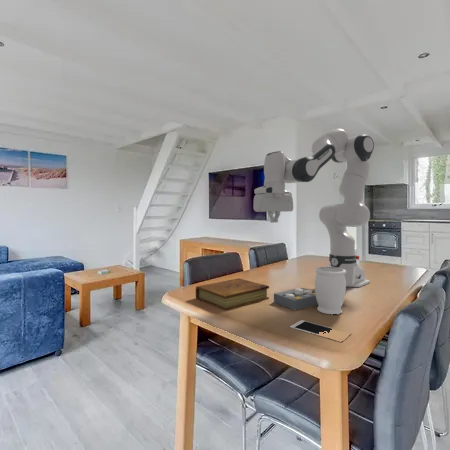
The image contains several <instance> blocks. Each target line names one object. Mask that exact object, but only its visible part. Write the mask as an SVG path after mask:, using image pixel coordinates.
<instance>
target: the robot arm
mask: <svg viewBox="0 0 450 450" xmlns="http://www.w3.org/2000/svg"><path fill="white" fill-rule="evenodd" d="M347 133H348V132H347V131H345V130H344V129H342V128H334V129H332V130H331V129H330V131H329V130H328V131H327V132H325V133H323V134H322V135H321V136H319V137H317V138H316V139H315V140H314V142H313V143H312V145H311V152H312V155H311V156H304V157H300V158H297V159H290V158H289V157H288V156H286V155H285V152H283V150H282V151H281V150H279V151H278V150H277V151H273V152H272V151H271V152H269V153H267V154H266V155H265V157H264V161H263V163H264V164H263V174H264V181H263V185H262V186H260V187H259V186H258V187H257V188H255V189H253V191H254V194H255V195H254V197H253V202H252V203H253V210H254V212H257V213H260V212H261V213H265V212H267V214H268V217H269V219H270V220H269V221H270V223H279V218H280V216H281V212H285V213H286V212H293V210H294V201H293V200H294V199H293V194H292V192H291V191H290V190H286V184H295V183H309V182H312V181H313V180H314V179H315V178H316V176H317V175H318V172H319V171H320V170H321V168H323V166H326V164H327V163H328V162H329V161H331V160H332V161H333V162H334V163H338V164H339V163H342V164H343V163H344V162H345V163H346V169H345V171H344V172H343V173H344V174H343V176H342V178H341V182H340V185H339V189H338V191H339V194H340V196H342V197H343V198H344V199H343V200H344V201H343V203H332V204H327V205H324V206H322V207H321V208H320V210H319V214H318V219H319V220H320V222H321V223H322V224H323V225H324V227H326V230H327V232H328V235H329V240H330V241H329V242H330V247H329V248H330V250H329V251H330V252H329V256H328V258H329V259H328V261H329V263H328V264H327V267H335V268H341V269H344V270H346V274H345V275H344V276H345V280H346V288H348V287H352V288H353V287H354V288H360V287H363V286H365V285H367V284H370V283H371V280H370V279H368V278H366V273H365V270H364V269H363V268H362V267H361V266H360V264H358V263H357V261H359V260H360V258H361V256H360V255H356V254H355V250H356V249H355V248H356V247H355V246H356V244H355V243H356V240H355V238H354V236H352V235H351V234H350V233H349V232H348V230H347V227H349V228H351V227H352V228H357V227H362V226H366V225H367V224H368V223H369V222H370V218H371V211H370V210H369V208H368V206H366V204H365V203H364V199H363V196H364V192H365V187H366V184H367V180H368V176H369V169H370V164H369V161H368V160H370V158H371V156H372V154H373V151H374V149H375V143H374V142H375V141H374V139H373V138H372V137H371V136H370V135H368V134H359V135H355V136H352V137H351V136H350V137H349V136H348V134H347Z"/></svg>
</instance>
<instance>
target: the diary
mask: <svg viewBox="0 0 450 450" xmlns="http://www.w3.org/2000/svg"><path fill="white" fill-rule="evenodd" d="M268 289H270V286H269V285H266V284H263V283H259V282H254V281H252V280H251V281H250V280H248V279H247V280H246V279H244V278H235V279H229V280H228V279H227V280H223V281H218V282H213V283H206V284H202V285H197V286H196V287H195V299H197V300H198V301H200V302H204V303H206V304H209V305H211V306H213V307H217V308H219V309H221V310H223V311H228V310H232V309H235V308H239V307H240V308H241V307H242V306H248V305H251V304H255V303H257V302H262V301H265V300H269V299H270V297H268V296H267V295H268V293H267V292H268Z"/></svg>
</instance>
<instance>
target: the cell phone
mask: <svg viewBox="0 0 450 450" xmlns="http://www.w3.org/2000/svg"><path fill="white" fill-rule="evenodd" d="M289 328H291V329H293V330H297V331H300V330H301V332H303V331H304V332H303V333H307V332H308V333H307V334H310V333H312V334H311V335H313V334H319V332H324V331H327V332H328V333H329V332H330V330H332V329H331V328H332V327H330V326H325V325H322V324H318V323H315V322H310V321H307V320H302V319H301V320H299V321H297V322H296V323H293V324H292V325H290V326H289ZM324 333H326V332H324ZM324 333H323V334H324Z"/></svg>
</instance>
